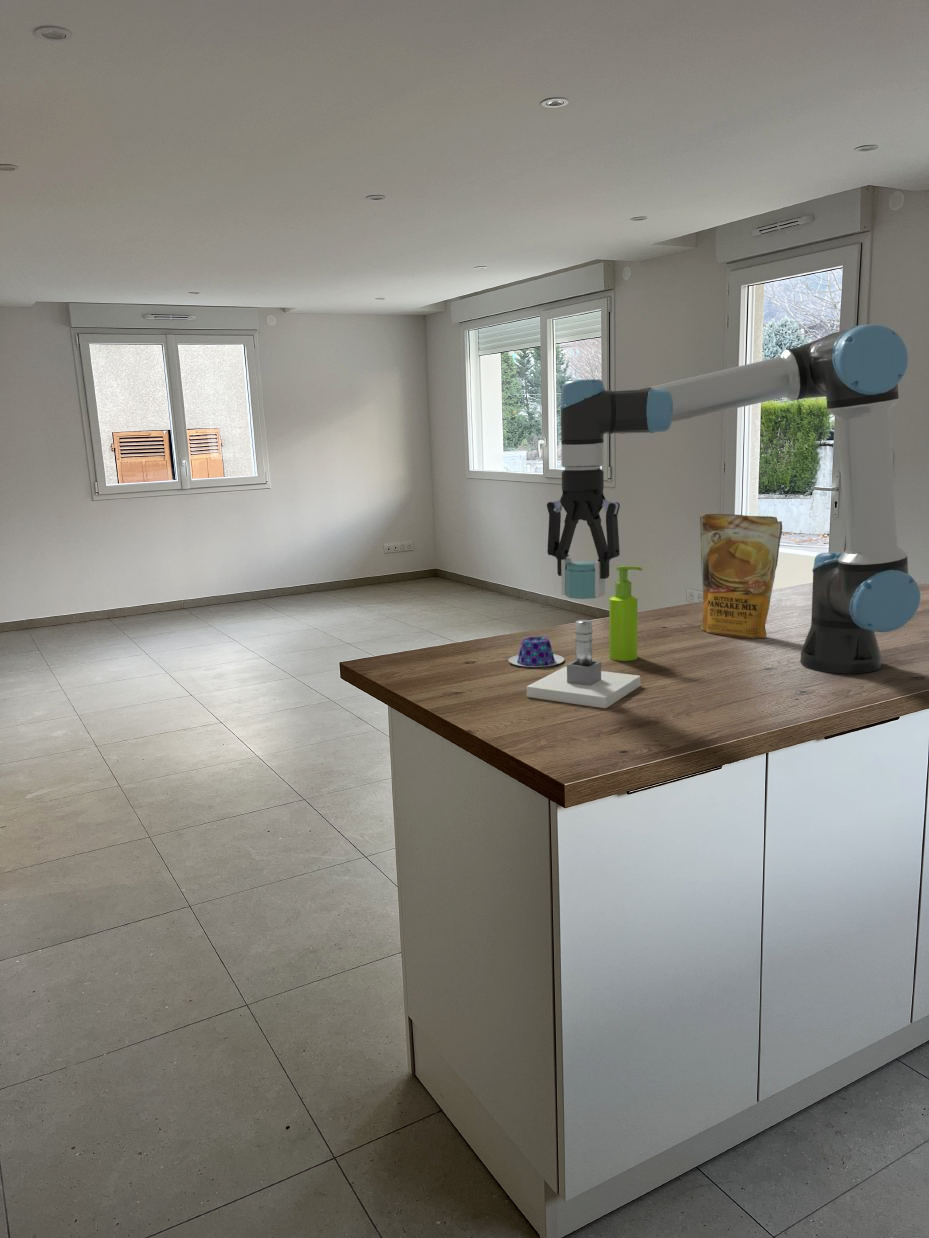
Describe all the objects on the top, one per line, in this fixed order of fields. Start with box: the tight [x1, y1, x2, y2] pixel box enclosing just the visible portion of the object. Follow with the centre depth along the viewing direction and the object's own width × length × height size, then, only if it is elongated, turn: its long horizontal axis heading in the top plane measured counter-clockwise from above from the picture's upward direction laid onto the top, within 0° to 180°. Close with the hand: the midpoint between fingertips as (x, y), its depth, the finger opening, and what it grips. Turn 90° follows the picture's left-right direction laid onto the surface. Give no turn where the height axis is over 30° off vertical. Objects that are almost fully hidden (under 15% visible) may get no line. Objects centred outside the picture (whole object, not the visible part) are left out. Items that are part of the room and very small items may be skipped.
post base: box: [526, 659, 641, 709], centre depth 170 cm, size 16×16×6 cm
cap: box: [564, 561, 598, 600], centre depth 166 cm, size 6×6×6 cm
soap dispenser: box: [608, 564, 643, 662], centre depth 192 cm, size 6×7×20 cm
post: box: [574, 619, 593, 667], centre depth 169 cm, size 3×3×10 cm
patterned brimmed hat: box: [508, 636, 565, 668], centre depth 193 cm, size 12×12×5 cm
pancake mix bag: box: [699, 513, 783, 640], centre depth 210 cm, size 7×19×28 cm, turn 48°
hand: (583, 594), depth 167 cm, fingers closed on cap, 6 cm apart
